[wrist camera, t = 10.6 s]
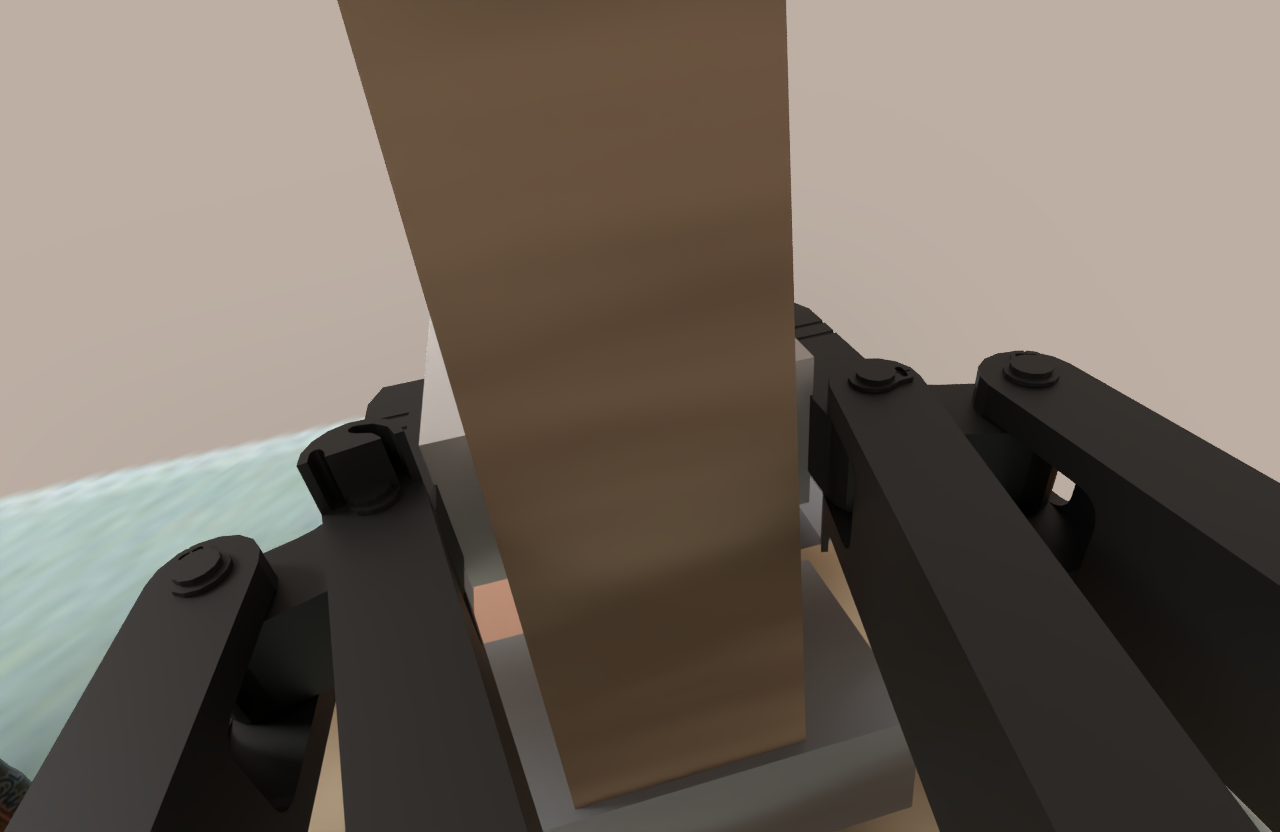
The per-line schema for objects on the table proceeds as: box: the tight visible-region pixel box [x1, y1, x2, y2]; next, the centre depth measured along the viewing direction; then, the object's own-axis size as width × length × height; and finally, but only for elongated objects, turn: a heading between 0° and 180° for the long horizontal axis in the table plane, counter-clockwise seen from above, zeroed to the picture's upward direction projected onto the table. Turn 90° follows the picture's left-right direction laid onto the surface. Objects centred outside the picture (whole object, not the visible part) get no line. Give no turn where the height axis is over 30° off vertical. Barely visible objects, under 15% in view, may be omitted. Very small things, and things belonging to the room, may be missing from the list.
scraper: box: [337, 0, 916, 832], centre depth 11 cm, size 4×8×14 cm, turn 103°
